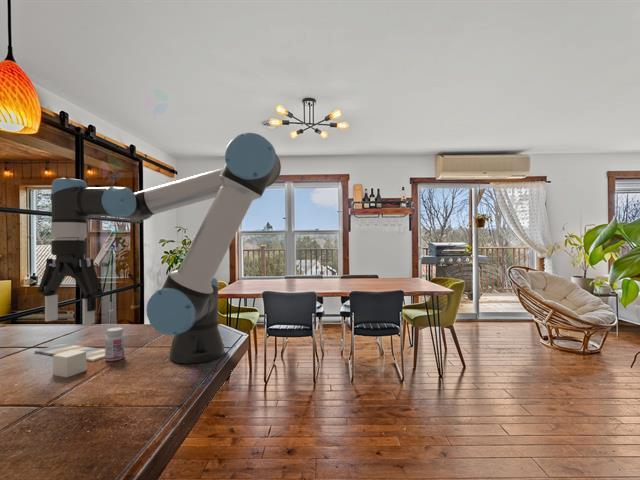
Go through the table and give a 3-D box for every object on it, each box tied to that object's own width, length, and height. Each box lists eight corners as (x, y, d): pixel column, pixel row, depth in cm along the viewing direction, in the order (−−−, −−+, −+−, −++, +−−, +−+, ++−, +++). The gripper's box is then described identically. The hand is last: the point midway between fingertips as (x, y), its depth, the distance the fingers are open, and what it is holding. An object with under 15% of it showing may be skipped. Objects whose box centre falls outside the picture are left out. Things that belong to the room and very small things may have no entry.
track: (118, 353, 107) (118, 351, 107) (93, 361, 99) (93, 359, 99) (61, 345, 114) (61, 343, 114) (34, 352, 107) (34, 350, 107)
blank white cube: (86, 370, 92) (86, 351, 92) (66, 377, 88) (67, 357, 88) (72, 368, 94) (72, 349, 94) (52, 375, 89) (52, 355, 89)
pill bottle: (115, 362, 99) (114, 332, 99) (101, 360, 100) (100, 330, 100) (128, 356, 103) (128, 327, 103) (114, 354, 105) (114, 326, 104)
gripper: (118, 239, 91) (118, 322, 91) (51, 240, 99) (51, 316, 99) (90, 239, 84) (91, 329, 84) (21, 239, 92) (21, 321, 92)
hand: (69, 322), depth 91 cm, fingers open, 13 cm apart
